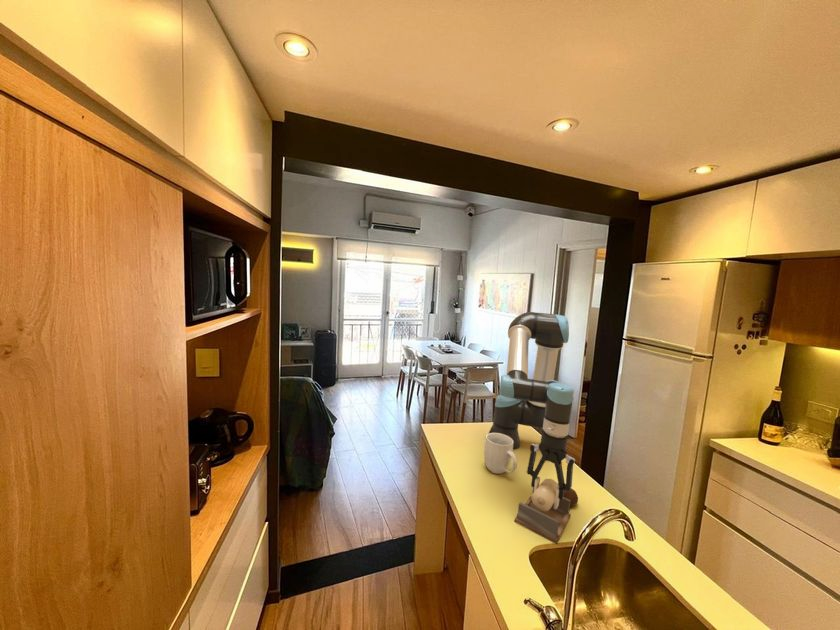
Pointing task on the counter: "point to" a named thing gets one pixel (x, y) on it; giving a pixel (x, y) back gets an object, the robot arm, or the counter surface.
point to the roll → (545, 495)
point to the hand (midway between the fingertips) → (545, 501)
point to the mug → (499, 453)
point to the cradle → (544, 518)
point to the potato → (571, 496)
